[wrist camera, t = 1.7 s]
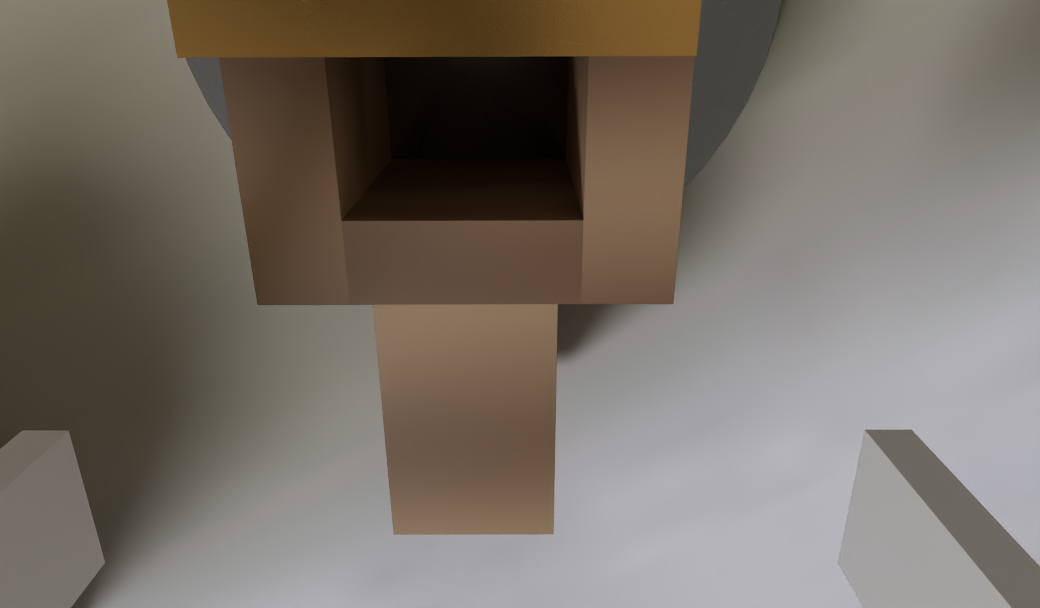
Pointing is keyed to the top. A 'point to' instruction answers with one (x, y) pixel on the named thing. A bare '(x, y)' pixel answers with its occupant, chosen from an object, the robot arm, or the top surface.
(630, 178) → the brown wooden forked piece
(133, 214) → the top surface
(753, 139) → the top surface
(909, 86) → the top surface
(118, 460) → the top surface
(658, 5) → the lid
